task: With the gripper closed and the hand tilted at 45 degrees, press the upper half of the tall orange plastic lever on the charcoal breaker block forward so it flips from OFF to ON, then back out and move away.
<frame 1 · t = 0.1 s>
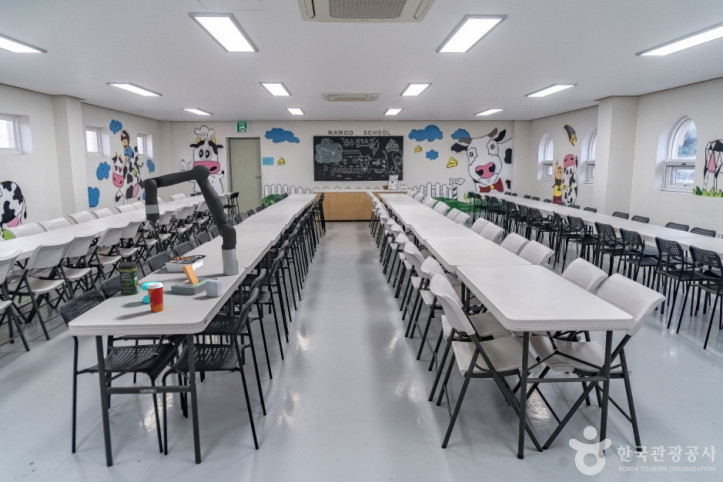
hand: (155, 238, 275), 29 cm above the table, tool pointing down, fingers open, 8 cm apart
donuts: (152, 301, 249), on the table
paper cup: (157, 310, 232), on the table
food packaging: (185, 269, 325), on the table
coffee jar: (130, 293, 265), on the table
breaker lever: (190, 274, 271), point 8 cm above the table, hinge at -25.0°
medicine box: (214, 296, 257), on the table
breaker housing: (195, 288, 272), on the table
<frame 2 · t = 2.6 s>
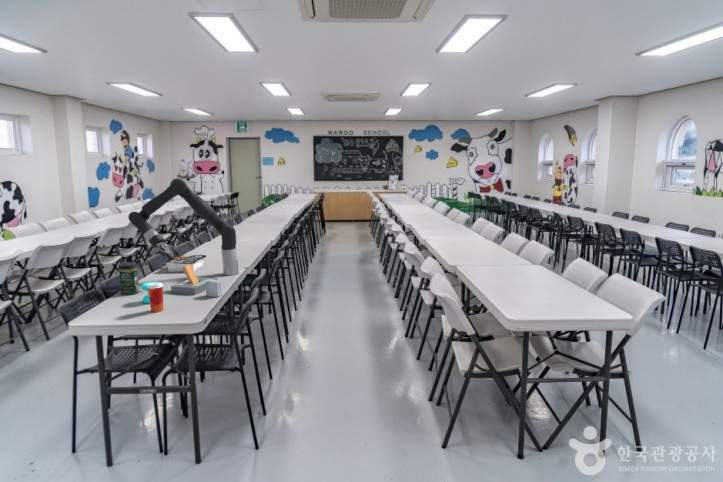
hand: (172, 258, 273), 18 cm above the table, tool tilted 45°, fingers closed
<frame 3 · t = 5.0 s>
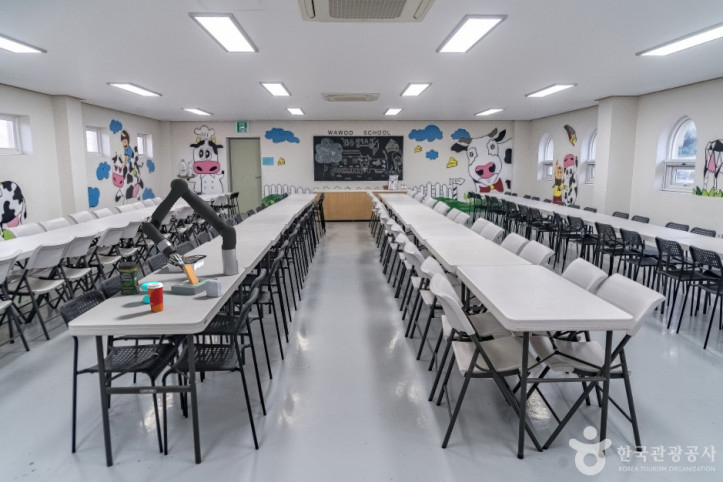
hand: (185, 269, 272), 11 cm above the table, tool tilted 45°, fingers closed
breaker lever: (190, 274, 271), point 8 cm above the table, hinge at -25.0°, touching gripper
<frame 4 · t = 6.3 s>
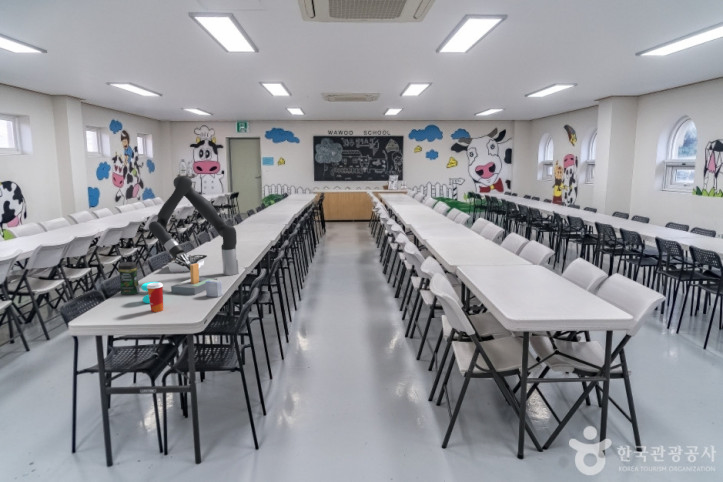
hand: (192, 269, 270), 12 cm above the table, tool tilted 45°, fingers closed
breaker lever: (194, 274, 270), point 9 cm above the table, hinge at 3.3°, touching gripper
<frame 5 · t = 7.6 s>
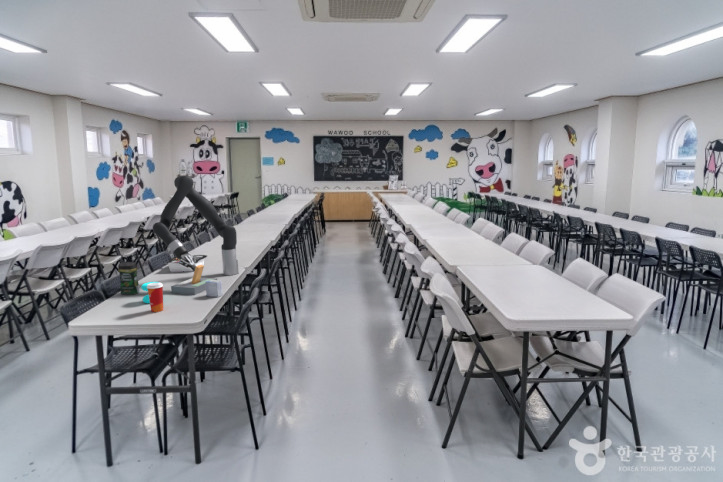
hand: (196, 270, 269), 11 cm above the table, tool tilted 45°, fingers closed
breaker lever: (197, 275, 270), point 9 cm above the table, hinge at 22.2°, touching gripper
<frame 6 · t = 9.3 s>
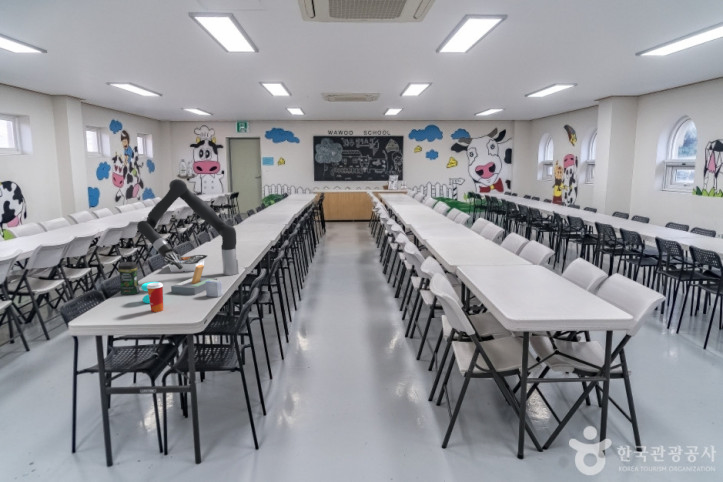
hand: (181, 268, 272), 12 cm above the table, tool tilted 45°, fingers closed
breaker lever: (197, 275, 270), point 9 cm above the table, hinge at 22.4°
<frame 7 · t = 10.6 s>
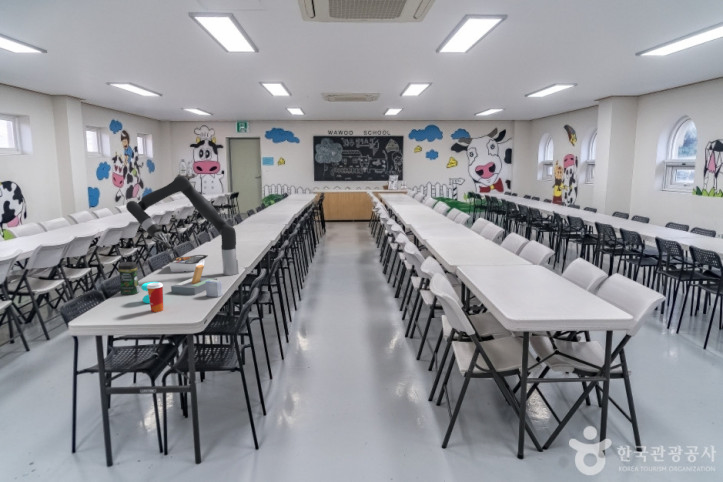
hand: (170, 248, 274), 24 cm above the table, tool tilted 45°, fingers closed
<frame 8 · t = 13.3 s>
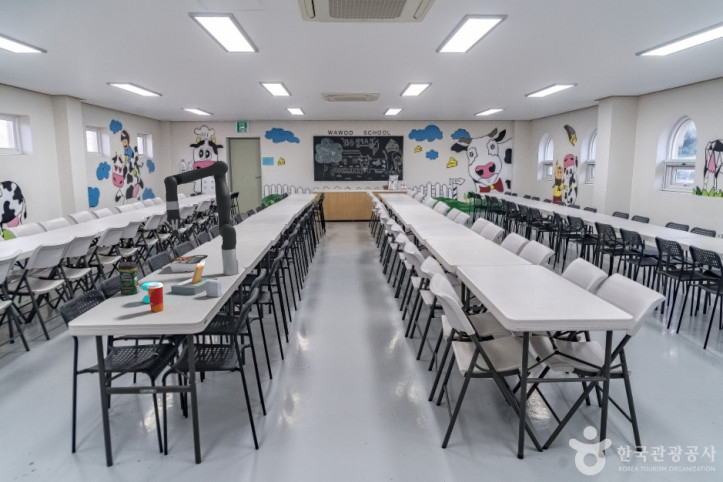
hand: (175, 235, 287), 29 cm above the table, tool pointing down, fingers closed
at the end: breaker lever at +22° (first picture: -25°) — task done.
